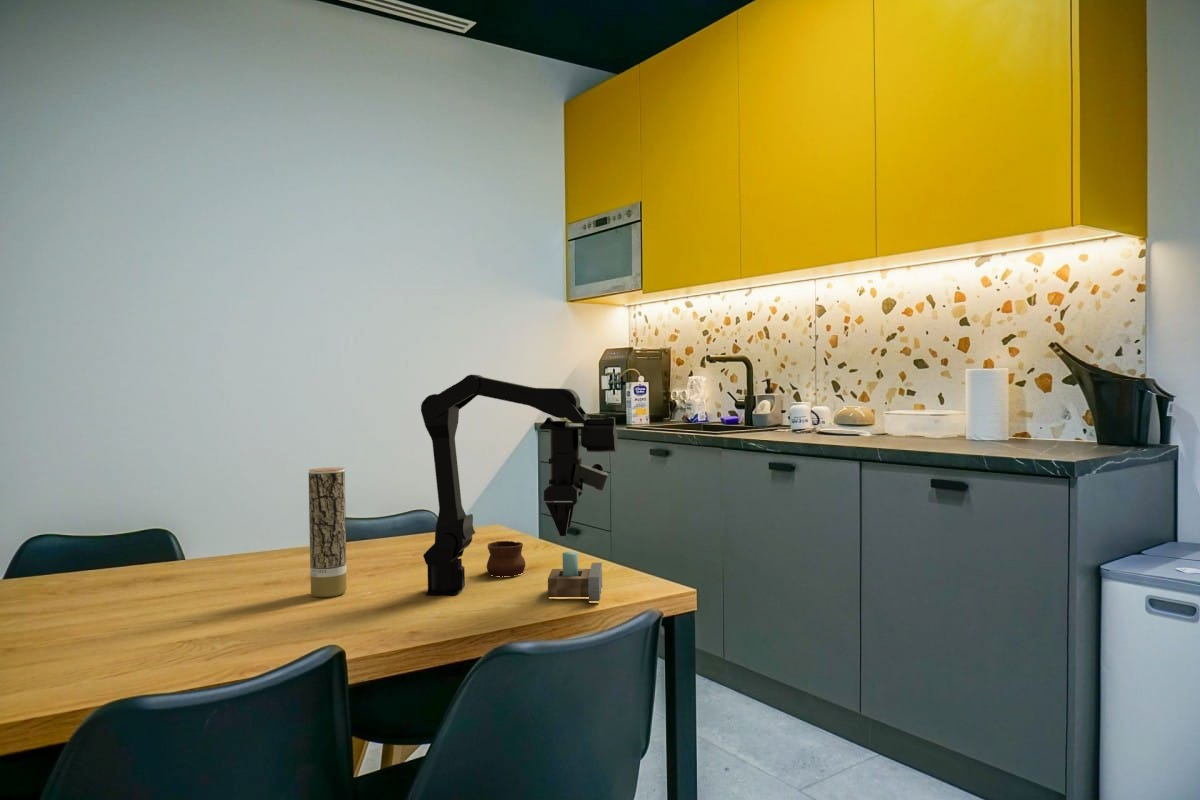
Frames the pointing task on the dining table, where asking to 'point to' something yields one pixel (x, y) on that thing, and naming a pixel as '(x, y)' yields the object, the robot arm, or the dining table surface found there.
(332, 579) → the paper tube
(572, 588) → the block
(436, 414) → the robot arm
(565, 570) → the dowel
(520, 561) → the ceramic pot
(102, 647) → the dining table surface
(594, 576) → the bar
